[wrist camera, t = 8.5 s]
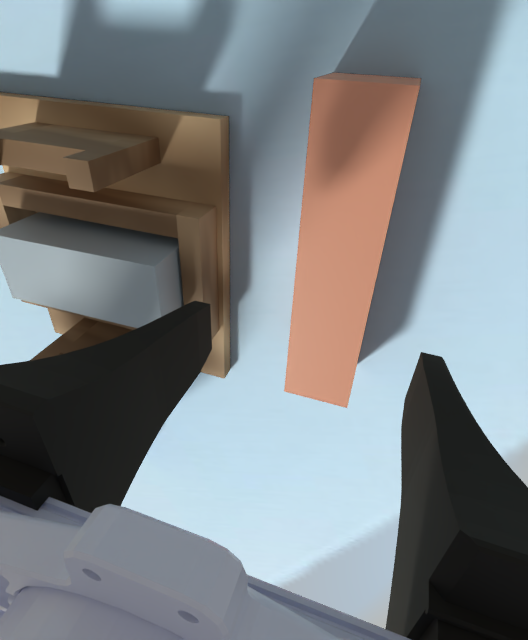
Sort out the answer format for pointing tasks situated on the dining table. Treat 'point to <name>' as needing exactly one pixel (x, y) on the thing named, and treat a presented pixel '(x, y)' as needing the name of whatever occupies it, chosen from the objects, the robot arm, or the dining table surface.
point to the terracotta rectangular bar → (344, 224)
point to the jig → (125, 193)
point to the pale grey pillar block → (92, 268)
